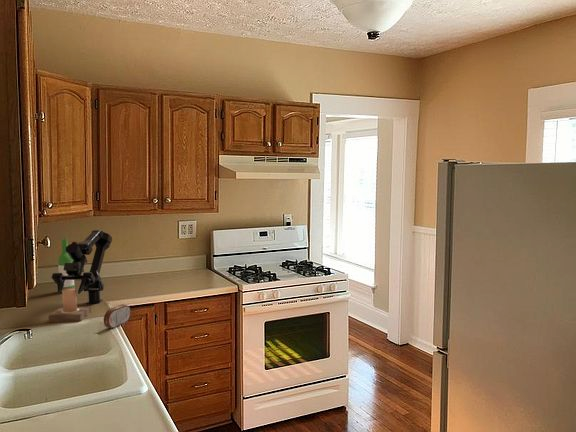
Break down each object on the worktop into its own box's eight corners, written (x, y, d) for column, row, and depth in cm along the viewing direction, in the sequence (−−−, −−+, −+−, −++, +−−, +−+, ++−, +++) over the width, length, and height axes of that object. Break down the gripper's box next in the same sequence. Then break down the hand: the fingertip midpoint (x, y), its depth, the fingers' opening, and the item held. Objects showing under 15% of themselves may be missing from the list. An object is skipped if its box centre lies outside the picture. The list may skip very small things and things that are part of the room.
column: (62, 309, 234) (61, 288, 233) (76, 308, 236) (75, 287, 236) (63, 312, 228) (62, 291, 228) (77, 311, 231) (76, 289, 230)
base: (61, 313, 239) (60, 306, 239) (91, 312, 240) (90, 306, 240) (48, 322, 225) (48, 315, 225) (80, 321, 226) (80, 314, 226)
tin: (126, 320, 226) (126, 301, 226) (132, 320, 225) (131, 302, 225) (103, 330, 213) (102, 310, 212) (109, 330, 211) (108, 311, 211)
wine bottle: (77, 290, 287) (75, 238, 285) (67, 293, 280) (64, 240, 278) (67, 289, 290) (64, 237, 288) (56, 292, 283) (53, 239, 281)
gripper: (52, 255, 235) (41, 284, 225) (91, 255, 235) (82, 284, 225) (60, 269, 244) (51, 297, 234) (99, 268, 243) (91, 296, 233)
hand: (68, 293), depth 231 cm, fingers open, 9 cm apart
